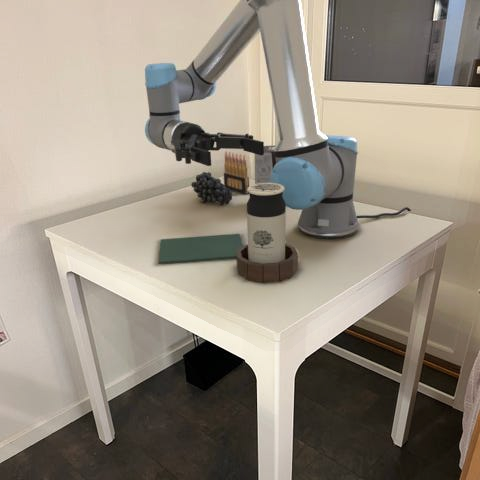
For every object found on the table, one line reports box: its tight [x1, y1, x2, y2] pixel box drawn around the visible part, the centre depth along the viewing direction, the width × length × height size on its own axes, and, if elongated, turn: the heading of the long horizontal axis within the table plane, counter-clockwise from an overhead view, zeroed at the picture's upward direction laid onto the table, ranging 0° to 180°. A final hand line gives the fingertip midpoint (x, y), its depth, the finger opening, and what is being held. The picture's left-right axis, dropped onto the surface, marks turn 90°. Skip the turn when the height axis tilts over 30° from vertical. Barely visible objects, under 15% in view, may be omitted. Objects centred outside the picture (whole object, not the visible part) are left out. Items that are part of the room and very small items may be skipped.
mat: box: [158, 233, 243, 265], centre depth 117 cm, size 20×14×1 cm
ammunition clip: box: [223, 150, 250, 195], centre depth 155 cm, size 11×2×12 cm, turn 41°
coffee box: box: [254, 145, 276, 184], centre depth 140 cm, size 9×6×16 cm
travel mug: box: [246, 183, 287, 264], centre depth 101 cm, size 8×8×18 cm
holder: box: [235, 242, 299, 284], centre depth 105 cm, size 13×13×4 cm
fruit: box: [190, 171, 234, 206], centre depth 146 cm, size 9×8×15 cm
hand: (236, 153), depth 101 cm, fingers open, 13 cm apart
